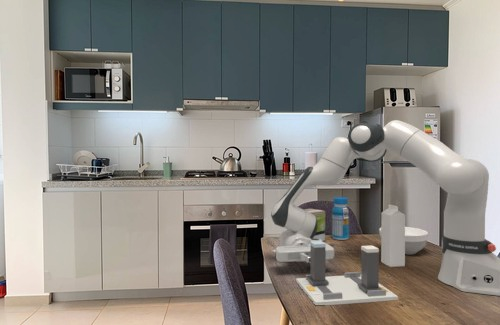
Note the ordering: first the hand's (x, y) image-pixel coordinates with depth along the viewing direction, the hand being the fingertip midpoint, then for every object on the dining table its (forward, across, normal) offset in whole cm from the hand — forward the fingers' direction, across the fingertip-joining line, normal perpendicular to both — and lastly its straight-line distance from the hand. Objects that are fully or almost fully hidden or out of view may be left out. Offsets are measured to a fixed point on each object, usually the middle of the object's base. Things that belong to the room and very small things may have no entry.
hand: (311, 259), depth 109 cm
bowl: (-26, +49, +7) cm, 56 cm away
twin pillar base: (+10, +6, +6) cm, 14 cm away
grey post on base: (+14, +13, +5) cm, 19 cm away
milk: (-10, +35, +7) cm, 37 cm away
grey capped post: (+6, 0, +5) cm, 8 cm away
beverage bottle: (-51, +33, +7) cm, 61 cm away
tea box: (-48, +15, +7) cm, 51 cm away
